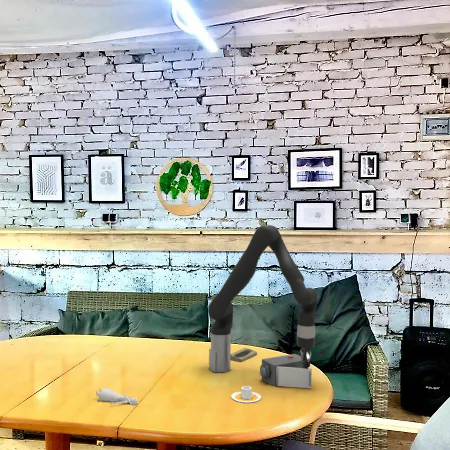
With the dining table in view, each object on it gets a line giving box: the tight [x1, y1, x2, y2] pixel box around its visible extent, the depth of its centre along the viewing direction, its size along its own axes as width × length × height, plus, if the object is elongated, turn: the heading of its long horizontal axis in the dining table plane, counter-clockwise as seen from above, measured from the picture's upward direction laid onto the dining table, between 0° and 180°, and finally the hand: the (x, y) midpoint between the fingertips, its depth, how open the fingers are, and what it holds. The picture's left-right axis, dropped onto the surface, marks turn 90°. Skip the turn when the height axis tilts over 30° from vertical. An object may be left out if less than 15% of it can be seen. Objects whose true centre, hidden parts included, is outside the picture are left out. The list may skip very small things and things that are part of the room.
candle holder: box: [231, 385, 262, 403], centre depth 202 cm, size 12×12×4 cm
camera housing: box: [259, 353, 303, 387], centre depth 222 cm, size 20×10×10 cm, turn 119°
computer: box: [230, 347, 258, 363], centre depth 256 cm, size 16×8×3 cm, turn 146°
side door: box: [275, 366, 313, 389], centre depth 213 cm, size 15×2×8 cm, turn 80°
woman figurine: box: [95, 387, 139, 406], centre depth 197 cm, size 12×4×18 cm
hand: (305, 375), depth 215 cm, fingers closed
